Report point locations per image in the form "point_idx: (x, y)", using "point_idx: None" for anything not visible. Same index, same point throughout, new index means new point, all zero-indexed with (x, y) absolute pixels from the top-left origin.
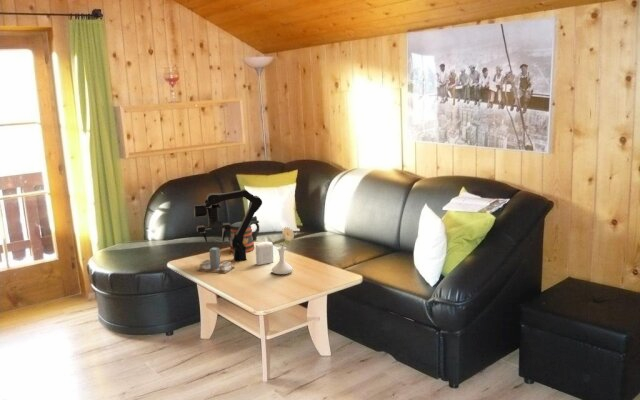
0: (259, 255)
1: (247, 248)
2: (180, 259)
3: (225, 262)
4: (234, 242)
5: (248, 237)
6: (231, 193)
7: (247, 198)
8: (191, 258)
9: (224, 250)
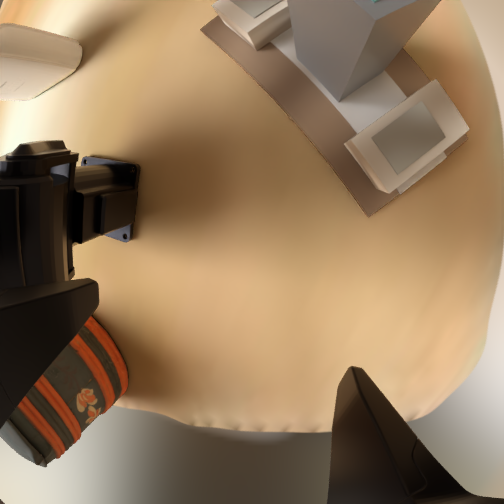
0: (39, 30)
1: None
2: (404, 413)
3: (259, 2)
4: (19, 176)
5: None
6: None
7: None
8: None
9: (154, 399)
